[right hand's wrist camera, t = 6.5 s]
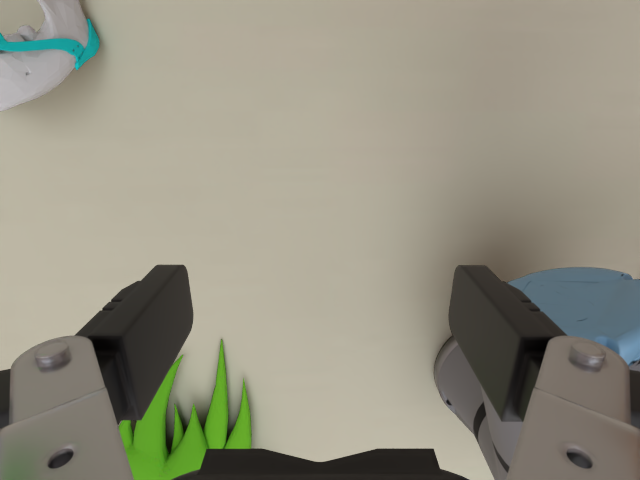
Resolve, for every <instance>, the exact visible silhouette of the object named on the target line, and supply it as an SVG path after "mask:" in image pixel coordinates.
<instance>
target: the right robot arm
mask: <svg viewBox="0 0 640 480" xmlns="http://www.w3.org/2000/svg"><path fill="white" fill-rule="evenodd" d="M102 309H103V310H102V311H99V312H98V313H97V314H96V315H95V316H94V317H93V318H92V319H91V320H90V321H89V322H88V323H87V324H86V325H85V326H84V327H83V328H82V329H81V330H80V331H79V332H78V333H77V334H76V335H75V336H64V337H59V338H55V339H51V340H48V341H45V342H43V343H41V344H38V345H36V346H34V347H32V348H30V349H29V350H27V351H26V352H24V353H23V354H21V355H20V356H19V357H18V358H17V359H16V360H15V361H14V363H13V364H12V366H11V369H8V370H3V371H0V480H134V478H133V474H132V471H131V468H130V464H129V461H128V458H127V454H126V451H125V448H124V444H123V441H122V438H121V435H120V431H119V428H118V424H119V423H120V421H121V420H142V418H143V417H144V415H145V413H146V411H147V409H148V407H149V406H150V404H151V402H152V400H153V398H154V397H155V395H156V393H157V391H158V389H159V388H160V386H161V384H162V382H163V380H164V379H165V377H166V375H167V373H168V371H169V369H170V368H171V366H172V364H173V362H174V360H175V359H176V357H177V355H178V353H179V351H180V350H181V348H182V346H183V344H184V342H185V341H186V339H187V337H188V335H189V333H190V331H191V328H192V324H193V307H192V300H191V293H190V286H189V279H188V273H187V269H186V267H185V266H184V265H156V266H155V267H154V268H153V269H152V270H151V271H150V272H149V273H148V274H147V275H146V276H145V277H144V278H143V279H142V280H141V281H137V282H135V283H133V284H131V285H130V286H128V287H126V288H124V289H122V290H121V291H120V292H119V293H118V294H117V295H116V296H115V297H114V298H113V299H112V300H111V302H109V303H108V304H107V305H105V306H104V307H103V308H102ZM449 325H450V329H451V332H452V334H453V336H454V338H455V339H456V341H457V343H458V345H459V347H460V348H461V350H462V352H463V354H464V355H465V357H466V359H467V361H468V363H469V364H470V366H471V368H472V370H473V372H474V373H475V375H476V377H477V379H478V380H479V382H480V384H481V386H482V388H483V389H484V391H485V393H486V395H487V397H488V398H489V400H490V402H491V404H492V405H493V407H494V409H495V411H496V413H497V414H498V416H499V418H500V420H501V422H523V425H522V428H521V431H520V435H519V438H518V441H517V444H516V448H515V451H514V454H513V458H512V461H511V464H510V468H509V471H508V474H507V478H506V480H640V371H635V370H630V369H629V366H628V364H627V363H626V361H625V360H624V359H623V358H622V357H621V356H620V355H619V354H617V353H616V352H614V351H613V350H611V349H610V348H608V347H606V346H604V345H602V344H599V343H597V342H595V341H592V340H589V339H585V338H581V337H576V336H568V335H567V334H566V333H565V332H563V331H562V330H561V329H560V328H559V327H558V326H557V325H556V324H555V323H554V322H553V321H552V320H551V319H550V318H549V317H548V316H547V315H546V314H545V313H544V312H543V311H540V308H539V307H537V306H536V305H535V304H534V303H531V300H530V299H529V298H528V297H527V296H526V295H525V294H524V293H523V292H522V291H521V290H519V289H517V288H515V287H514V286H512V285H510V284H508V283H506V282H502V281H501V280H500V279H499V278H498V277H497V276H496V275H495V274H494V273H493V272H492V271H491V270H490V269H489V268H488V267H487V266H485V265H459V266H457V268H456V270H455V273H454V280H453V287H452V294H451V301H450V307H449ZM171 480H469V479H467V478H465V477H462V476H460V475H457V474H454V473H451V472H449V471H445V470H442V469H440V468H439V464H438V461H437V458H436V455H435V452H434V449H375V450H371V451H367V452H363V453H358V454H354V455H350V456H346V457H342V458H338V459H334V460H330V461H326V462H314V461H310V460H306V459H302V458H298V457H294V456H290V455H286V454H282V453H277V452H273V451H269V450H265V449H206V452H205V455H204V458H203V461H202V464H201V468H200V469H199V470H195V471H191V472H189V473H186V474H183V475H180V476H178V477H175V478H173V479H171Z"/></svg>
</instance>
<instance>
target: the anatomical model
mask: <svg viewBox="0 0 640 480" xmlns="http://www.w3.org/2000/svg"><path fill="white" fill-rule="evenodd" d="M37 1H38V2H39V4H40V5H41V7H42V9H43V11H44V15H45V20H44V22H43V24H42V26H41V28H40V29H39V31H38V32H37V33H36V31H35V30H34V29H33V28H32V27H31V26H29V25H23V26H21V27H20V28H19V29H18V30H17V32H16V33H13V34H8V35H5V36H4V37H3V36H2V34H1V33H0V111H4V110H8V109H10V108H12V107H15V106H17V105H19V104H22V103H25V102H28V101H31V100H34V99H36V98H38V97H40V96H42V95H44V94H46V93H48V92H49V91H51V90H52V89H53V88H55V87H56V86H58V85H59V84H60V83H61V82H62V81H63V80H64V79H65V78H66V77H67V76H68V74H69V73H70V72H71V71H72V70H73V69H74V68H76V70H78V69H79V68H80V67H81V66H82V65H83V64H84V63H85V62H86V61H87V60H88V59H90V58H91V57H93V56H94V55H95V54H96V52H97V50H98V48H99V38H98V36H97V34H96V32H95V30H94V28H93V26H92V23H91V21H90V19H86V18H85V15H84V13H83V11H82V8H81V5H80V2H79V0H37Z"/></svg>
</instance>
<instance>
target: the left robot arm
mask: <svg viewBox="0 0 640 480" xmlns="http://www.w3.org/2000/svg"><path fill="white" fill-rule="evenodd" d="M508 284H510V285H512V286H514V287H515V288H517V289H519V290H521V291H522V292H523V293H524V294H525V295H526V296H527V297H528V298H529V299H530V300H531V303H534V304H535V305H536V306H537V307H539V308H540V311H543V312H544V313H545V314H546V315H547V316H548V317H549V318H550V319H551V320H552V321H553V322H554V323H555V324H556V325H557V326H558V327H559V328H560V329H561V330H562V331H563V332H565V333H566V334H567V335H568V336H576V337H581V338H585V339H589V340H592V341H595V342H597V343H599V344H602V345H604V346H606V347H608V348H610V349H611V350H613V351H614V352H616V353H617V354H619V355H620V356H621V357H622V358H623V359H624V360H625V361H626V363H627V364H628V366H629V369H630V370H635V371H640V279H635V280H633V278H632V277H631V276H630V275H629V274H626V273H623V272H619V271H614V270H609V269H602V268H592V267H570V268H558V269H550V270H545V271H540V272H536V273H532V274H528V275H526V276H524V277H521V278H518V279H515V280H512V281H510V282H508ZM434 378H435V383H436V386H437V388H438V391H439V393H440V395H441V398H442V400H443V401H444V403H445V404H446V405H447V406H448V408H449V409H450V410H451V411H452V412H453V413H454V414H456V415H457V417H458V418H459V419H460V420H461V421H462V422H463V423H464V424H465V426H466V427H467V428H468V429H469V430H470V431H471V432H472V433H473V434H474V435H475V438H476V439H477V442H478V444H479V446H480V449H481V451H482V453H483V455H484V457H485V459H486V462H487V464H488V466H489V468H490V470H491V473H492V475H493V477H494V479H495V480H506V478H507V474H508V471H509V468H510V464H511V461H512V458H513V454H514V451H515V448H516V444H517V441H518V438H519V435H520V431H521V428H522V425H523V422H501V420H500V418H499V416H498V414H497V413H496V411H495V409H494V407H493V405H492V404H491V402H490V400H489V398H488V397H487V395H486V393H485V391H484V389H483V388H482V386H481V384H480V382H479V380H478V379H477V377H476V375H475V373H474V372H473V370H472V368H471V366H470V364H469V363H468V361H467V359H466V357H465V355H464V354H463V352H462V350H461V348H460V347H459V345H458V343H457V341H456V339H455V338H454V336H452V337H451V338H450V339H449V340H448V341H447V342H446V343H445V345H444V346H443V347H442V349H441V350H440V352H439V354H438V356H437V359H436V362H435V367H434Z"/></svg>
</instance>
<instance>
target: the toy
mask: <svg viewBox="0 0 640 480" xmlns="http://www.w3.org/2000/svg"><path fill="white" fill-rule="evenodd" d="M182 357H183V355H182V356H181V357H180V358H179V359H178V360H177V361H176V362H175V363H174V364H173V365H172V366H171V368H170V369H169V371H168V373H167V375H166V377H165V379H164V380H163V382H162V384H161V386H160V388H159V389H158V391H157V393H156V395H155V397H154V398H153V400H152V402H151V404H150V406H149V407H148V409H147V411H146V413H145V415H144V417H143V418H142V420H137V422H136V426H135V430H134V434H133V431H132V427H131V420H122V422H121V424H120V425H119V431H120V435H121V438H122V441H123V444H124V448H125V451H126V454H127V458H128V461H129V464H130V468H131V471H132V474H133V478H134V480H171V479H173V478H175V477H178V476H180V475H183V474H186V473H189V472H191V471H195V470H199V469H200V468H201V464H202V461H203V458H204V455H205V452H206V449H251V435H252V434H251V418H250V410H249V405H248V399H247V394H246V388H245V383H244V377H243V390H242V401H241V407H240V412H239V415H238V418H237V421H236V424H235V426H234V428H233V430H232V432H231V434H230V437H229V439H228V441H227V443H226V438H227V426H228V401H227V384H226V369H225V362H224V352H223V343H222V339H221V345H220V354H219V362H218V369H217V377H216V386H215V389H214V393H213V397H212V401H211V405H210V408H209V412H208V415H207V419H206V423H205V426H204V430H202V428H201V425H200V422H199V420H198V416H197V412H196V409H195V406H194V403H193V408H192V413H191V418H190V421H189V424H188V427H187V430H186V432H185V434H184V431H183V427H182V423H181V419H180V417H179V414H178V411H177V408H176V405H175V403H174V405H175V422H174V437H173V442H172V448H171V452H170V453H168V450H167V446H166V422H165V421H166V409H167V405H168V400H169V394H170V391H171V388H172V385H173V381H174V378H175V374H176V371H177V368H178V366H179V363H180V361H181V359H182Z"/></svg>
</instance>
